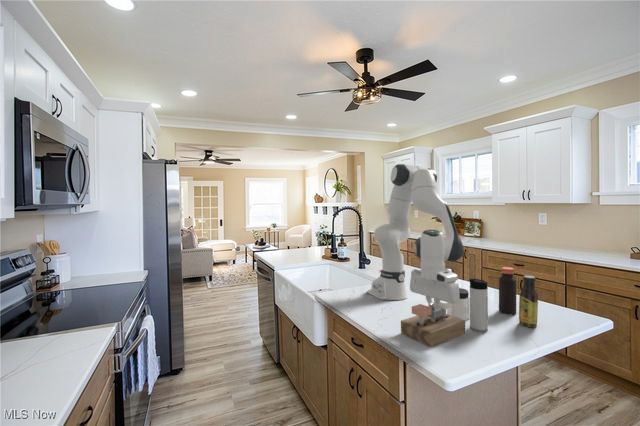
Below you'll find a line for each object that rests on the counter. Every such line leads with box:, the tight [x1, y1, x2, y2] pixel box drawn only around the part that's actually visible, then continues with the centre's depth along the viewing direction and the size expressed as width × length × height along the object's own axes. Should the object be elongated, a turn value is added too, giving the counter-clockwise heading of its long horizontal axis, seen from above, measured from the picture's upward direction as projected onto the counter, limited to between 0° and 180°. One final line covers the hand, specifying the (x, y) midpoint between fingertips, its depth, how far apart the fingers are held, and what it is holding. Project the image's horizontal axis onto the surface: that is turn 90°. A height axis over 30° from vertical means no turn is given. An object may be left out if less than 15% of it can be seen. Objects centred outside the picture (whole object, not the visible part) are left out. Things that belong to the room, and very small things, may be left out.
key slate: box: [428, 308, 443, 322], centre depth 121 cm, size 5×5×8 cm
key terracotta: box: [411, 303, 432, 327], centre depth 117 cm, size 5×5×8 cm
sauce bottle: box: [518, 274, 539, 328], centre depth 126 cm, size 6×6×20 cm
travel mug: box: [469, 278, 489, 334], centre depth 123 cm, size 6×7×20 cm
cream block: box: [433, 300, 453, 319], centre depth 124 cm, size 5×5×8 cm
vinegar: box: [498, 266, 517, 316], centre depth 141 cm, size 7×7×20 cm
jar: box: [446, 287, 470, 322], centre depth 136 cm, size 9×8×12 cm
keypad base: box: [400, 313, 466, 348], centre depth 121 cm, size 14×20×5 cm
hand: (433, 308), depth 121 cm, fingers closed, pressing on key slate
